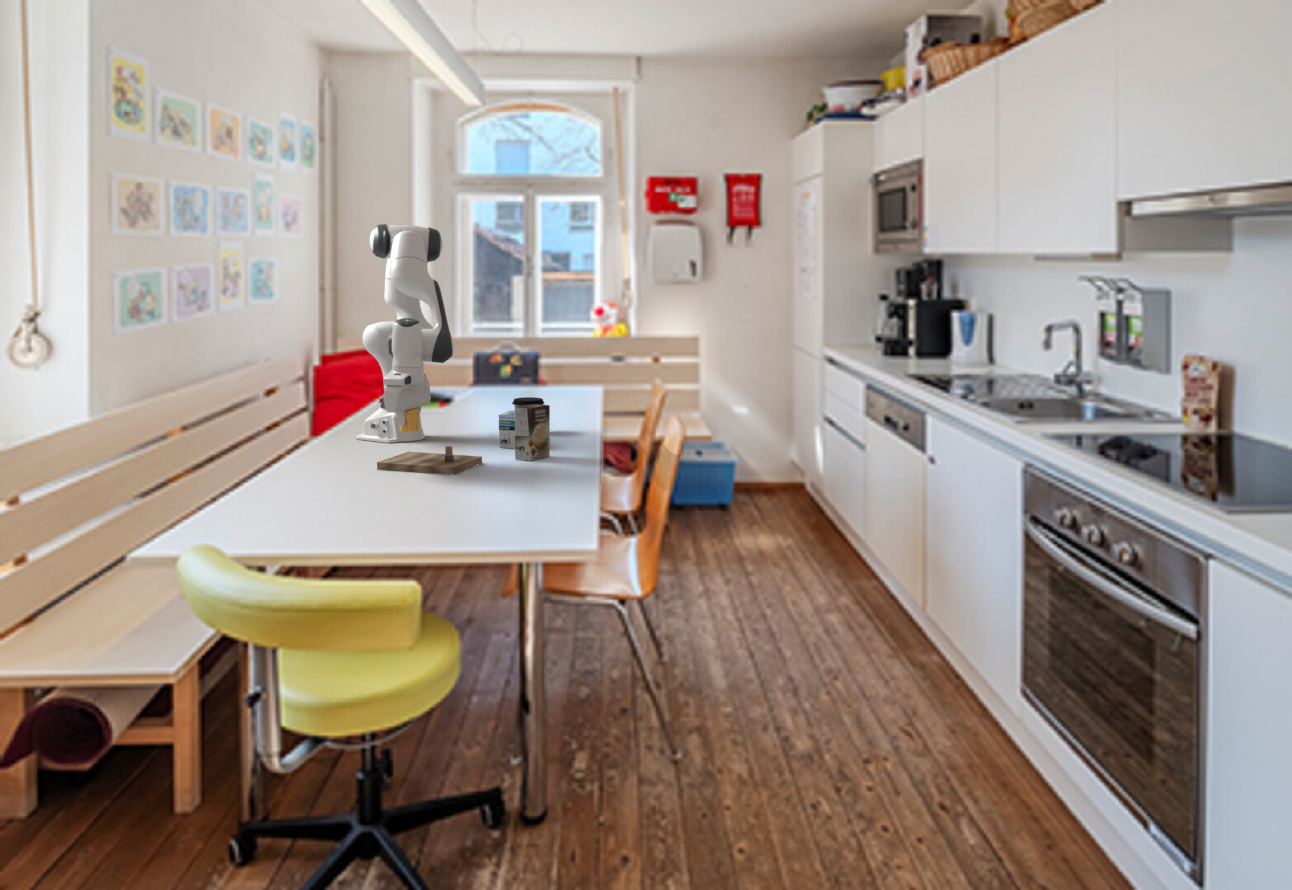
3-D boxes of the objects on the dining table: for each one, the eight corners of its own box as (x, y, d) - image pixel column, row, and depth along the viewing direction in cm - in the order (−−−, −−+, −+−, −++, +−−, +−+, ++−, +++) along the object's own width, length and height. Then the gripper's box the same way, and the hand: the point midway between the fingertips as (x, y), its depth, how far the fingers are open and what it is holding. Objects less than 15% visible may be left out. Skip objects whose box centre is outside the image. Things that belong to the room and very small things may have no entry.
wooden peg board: (377, 469, 291) (376, 448, 290) (409, 458, 308) (408, 438, 307) (453, 474, 284) (453, 453, 283) (482, 463, 301) (481, 443, 300)
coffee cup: (507, 435, 351) (507, 400, 349) (520, 430, 361) (520, 396, 359) (537, 436, 348) (536, 401, 346) (549, 432, 358) (549, 397, 356)
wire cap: (395, 430, 294) (395, 410, 293) (405, 427, 300) (405, 407, 298) (413, 432, 293) (412, 411, 292) (422, 429, 298) (422, 408, 297)
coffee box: (530, 461, 304) (530, 408, 301) (514, 459, 308) (513, 406, 305) (550, 457, 311) (550, 404, 309) (534, 454, 315) (533, 403, 312)
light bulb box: (518, 449, 325) (518, 415, 323) (498, 448, 326) (497, 414, 324) (529, 443, 335) (528, 410, 333) (509, 442, 336) (508, 410, 334)
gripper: (416, 371, 304) (417, 417, 306) (379, 379, 285) (380, 428, 287) (435, 372, 302) (436, 419, 305) (399, 380, 283) (400, 430, 285)
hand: (409, 423), depth 296 cm, fingers closed on wire cap, 6 cm apart
